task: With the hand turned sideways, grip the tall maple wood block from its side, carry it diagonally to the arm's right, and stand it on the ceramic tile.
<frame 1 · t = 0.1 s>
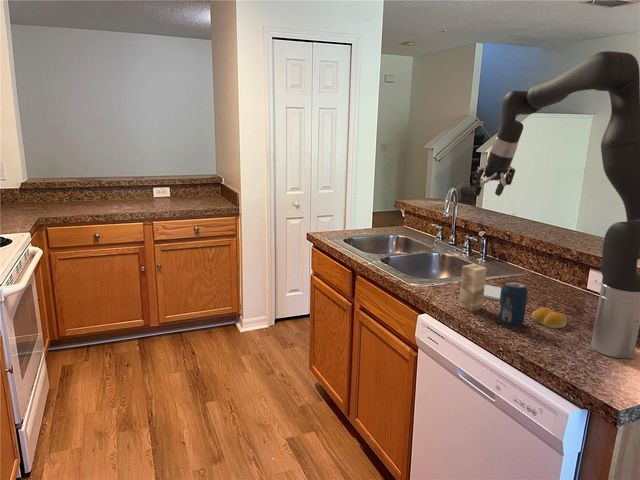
hand: (486, 194, 165), 31 cm above the countertop, tool tilted 20°, fingers open, 8 cm apart
bread roll: (548, 323, 137), on the countertop
ceramic tile: (487, 292, 160), on the countertop
soda can: (509, 324, 135), on the countertop
maple block: (470, 307, 147), on the countertop
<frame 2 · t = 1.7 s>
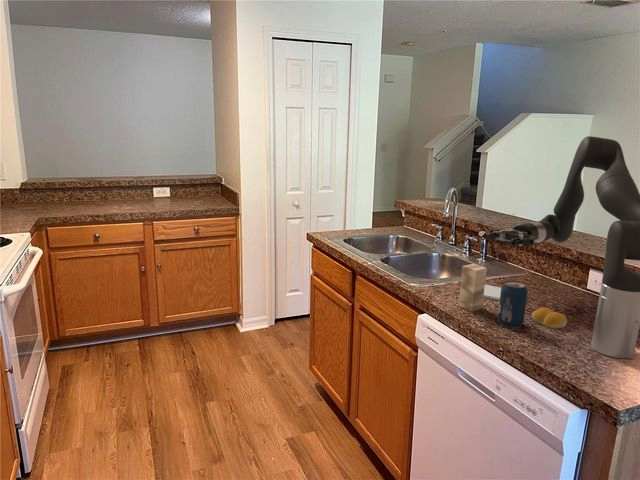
hand: (499, 239, 148), 20 cm above the countertop, tool horizontal, fingers open, 8 cm apart
nothing on the countertop moved.
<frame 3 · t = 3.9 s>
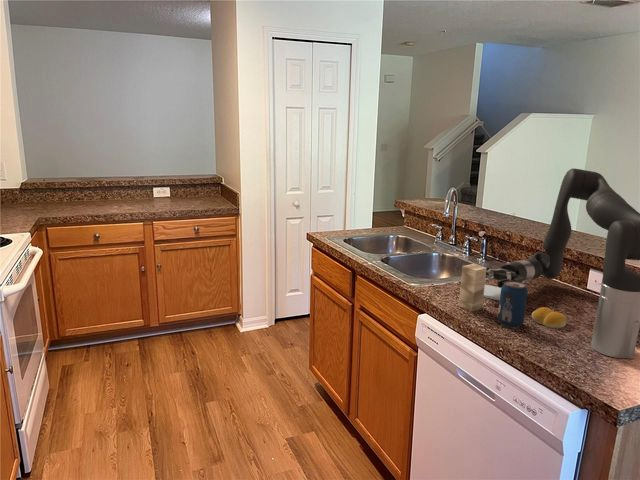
hand: (487, 280, 149), 7 cm above the countertop, tool horizontal, fingers open, 8 cm apart
nothing on the countertop moved.
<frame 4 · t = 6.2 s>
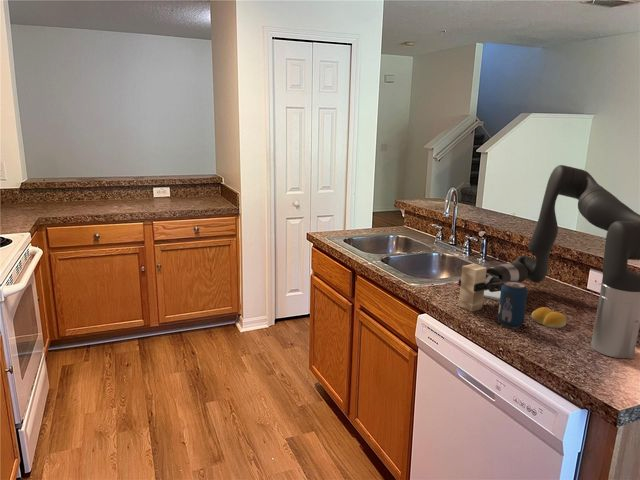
hand: (467, 285, 143), 8 cm above the countertop, tool horizontal, fingers closed on maple block, 5 cm apart
maple block: (470, 307, 147), on the countertop, touching gripper
everything else where it was.
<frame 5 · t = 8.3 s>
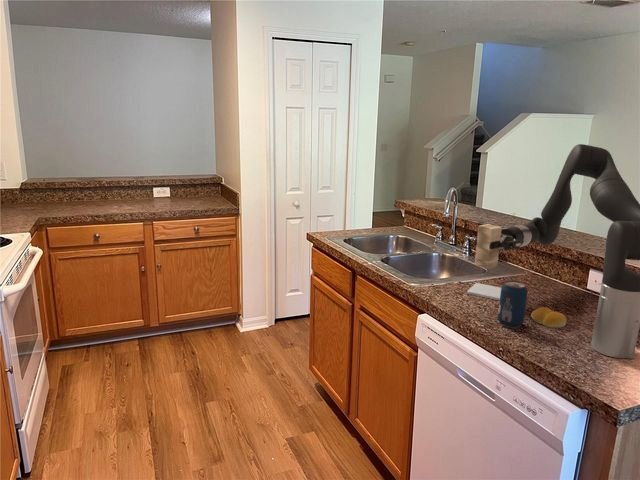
hand: (483, 244, 151), 18 cm above the countertop, tool horizontal, fingers closed on maple block, 5 cm apart
maple block: (485, 265, 154), point 11 cm above the countertop, touching gripper
everything else where it was.
when the fingers open (10 cm above the countertop, at t = 10.7 s): maple block drops 1 cm, resting on ceramic tile.
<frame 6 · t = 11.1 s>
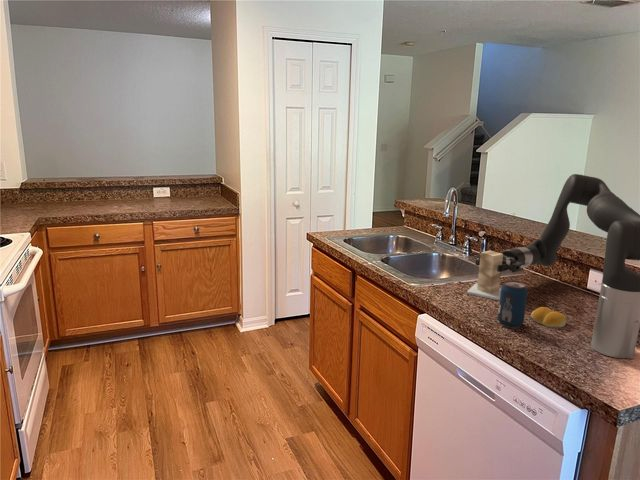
hand: (487, 265, 157), 10 cm above the countertop, tool horizontal, fingers open, 8 cm apart
maple block: (487, 290, 160), point 1 cm above the countertop, touching ceramic tile
everything else where it was.
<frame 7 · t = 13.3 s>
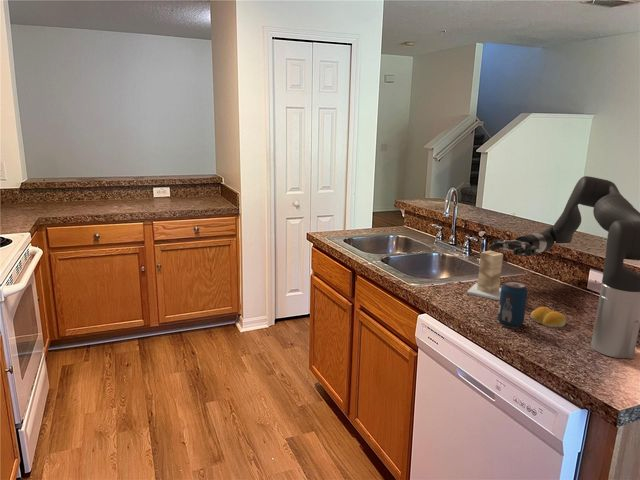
hand: (503, 249, 160), 14 cm above the countertop, tool horizontal, fingers open, 8 cm apart
nothing on the countertop moved.
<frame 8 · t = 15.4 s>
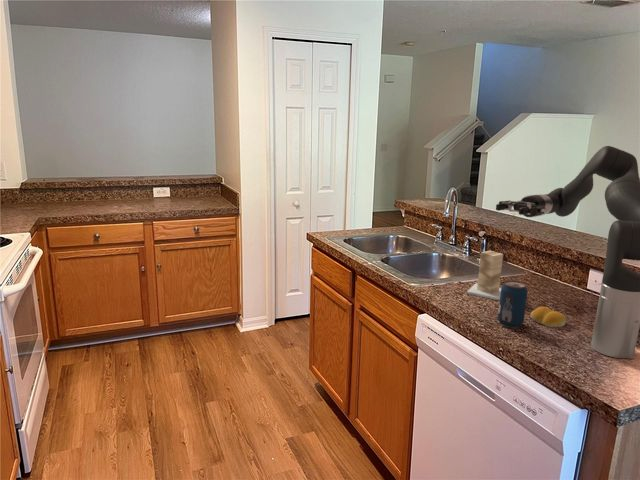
hand: (508, 209, 157), 28 cm above the countertop, tool horizontal, fingers open, 8 cm apart
nothing on the countertop moved.
at the end: maple block inside the target area on the ceramic tile (0.1 cm from its centre), point 0.8 cm above the ceramic tile's base; maple block tilted 0°; the gripper is holding nothing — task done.
